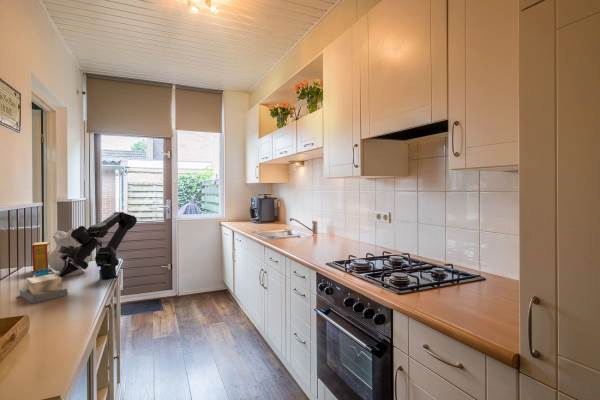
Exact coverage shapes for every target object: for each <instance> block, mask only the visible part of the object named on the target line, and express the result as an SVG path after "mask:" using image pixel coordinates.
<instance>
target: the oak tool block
mask: <svg viewBox="0 0 600 400" xmlns="http://www.w3.org/2000/svg"><path fill="white" fill-rule="evenodd" d="M62 278H63V277H62ZM62 278H61V277H59V276H58V274H56V273H55V274H50V275H44V276H39V277H35V276H33V278H30V277H28V278H26V288H27V291H28V292H30V293H31V294H33V295H34V296H37V295H41V294H46V293H50V292H55V291H59V290H63V284H62V283H63V281H62Z"/></svg>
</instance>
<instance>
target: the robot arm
mask: <svg viewBox="0 0 600 400" xmlns="http://www.w3.org/2000/svg"><path fill="white" fill-rule="evenodd" d="M137 220H138V219H137V217H136V216H135V215H132V214H128V213H126V212H123V211H115V212H113V213H112V214H110V216H109V217H107V218H105V219H104V220H102V222H100V223H95V224H93V225H90V226H89V227H87V228H86V226H84V225H79V226H78V227H77V228H75V230H74V231H73V232H72V233H71V237H72V238H73V239H74V240H76V241H77V242H78V243H79V244H81V245H80V246H79V247H74V246H68V247H65V246H61V248H60V250H59V252H60V253H63V254H62V255H61V257H60V258H61V259H63V261H64V266H63V268H62V270H61V272H60V271H59V272H60V274H59V275H58V274H57V275H58V276H59V277H61V278H63V277H66V276H65V275H67V274H69V273H71V272H74V271H76V270H79V268H78V267H79V266H80V267H82V270H83V271H84V270H85V271H86V270H87V269H88V268H89V263H87V262H85V261H84V260H85V259H86V258H87V257H88V256H90V255H91V256H92V252H94V250H95V249H96V248H97V247H99V249H98V251H96V252H95V256H94V262H95V263H96V267H97V268H99V267H100V269H98V270H99V272H98V273H99V276H98V278H99V279H100V280H101V279H102V280H103V281H104V280H105V281H106V280H110V279H113V278H118V275H117V267H118V266H119V263H120V260H119V259H118V258H117V252H116V251H117V249H118V248H119V246H120V244H121V242H122V241H123V239H124V237H125V236H126V234H127V233H128V231H130V230H131V229H132V228H134V226H135V225H136V224H137V222H138V221H137ZM116 224H118V227H117V229H116V231H114V233H113V235H112V237H111V238H110V240H108V243H107V244H106V246H105V247H102V246H103V243H102V240H101V239H103V238H105V237H106V235H108V232H109V230H110V229H111V228H112V227H114V226H115V225H116ZM90 253H91V254H90Z"/></svg>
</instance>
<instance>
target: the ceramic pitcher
mask: <svg viewBox="0 0 600 400" xmlns="http://www.w3.org/2000/svg"><path fill="white" fill-rule="evenodd" d="M75 229H76V228H69V230H68V231H67V232H65V231H64V230H56V232H55V233H54V235H53V236H52V239H54V242H55V244H56V245H55V248H54V250H52V251H50V254H49V255H48V264H49V266H50V267H51V268H50V269H52V271H53V270H54V271H55V272H58V273H57V275H59V274H60V272H61V270H62V268H63V266H64V261H63V259H61V258H60V257H61V255H62V254H63V253H60V252H59V250H60V248H61V246H65V247H68V246H74V247H79V246H80V245H81V244H79V243H78V242H77V241H76V240H74V239H73V238H72V237H71V233H72V232H73V231H74V230H75ZM90 254H91V255H90V256H88V257H87V258H86V259H85V260H84V261H85V262H87V263H88V264H89V263H90V261H91V258H92V252H91V253H90ZM78 268H79V270H76V271H74V272H71V273H69V274H67V275H65V276H64V277H70V276H75V275H76V276H77V275H80V274H82V273H84V272H85V271H84V269H82V267H80V266H79V267H78Z"/></svg>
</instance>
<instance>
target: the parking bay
mask: <svg viewBox="0 0 600 400" xmlns="http://www.w3.org/2000/svg"><path fill="white" fill-rule="evenodd" d="M18 292H19V297H20V298H23V299H24V300H25V301H28V303H30V304H31V303H33V304H37V303H40V301H41V302H43V301H44V302H45V301H49V300H53V299H57V298H62V297H66V296H68V289H67V288H64V289H62V290H59V291H55V292H50V293H46V294H41V295H37V296H34V295H33V294H31V293H30V292H28V291H27V287H25V288H22V289H19V291H18Z"/></svg>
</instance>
